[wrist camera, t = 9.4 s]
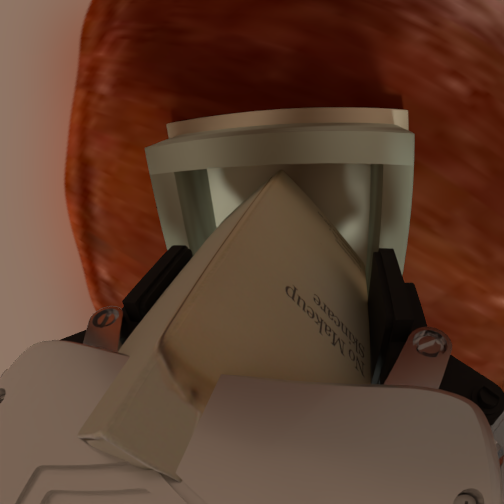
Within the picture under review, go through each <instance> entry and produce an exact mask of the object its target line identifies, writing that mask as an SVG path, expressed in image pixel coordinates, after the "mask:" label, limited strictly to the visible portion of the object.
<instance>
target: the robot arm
mask: <svg viewBox="0 0 504 504" xmlns="http://www.w3.org/2000/svg"><path fill="white" fill-rule="evenodd" d="M192 257H193V255H192V251H191V249H188V247H187V246H186V245H173V246H171V247H170V248H169V249H168V251H167V252H166V253H165V254H164V255H163V256H162V257H161V258H160V259H159V260H158V261H157V263H156V264H155V265H154V266H153V267H152V268H151V269H150V270H149V271H148V273H147V274H146V275H145V276H144V277H143V278H142V279H141V280H140V281H139V283H138V284H137V285H136V286H135V287H134V288H133V289H132V291H131V292H130V293H129V294H128V295H127V296H126V297H125V299H124V300H123V301H122V302H123V304H124V307H123V308H122V310H121V308H119V307H116V306H108V307H105V308H102V309H100V310H98V311H97V312H95V313H94V314H93V315H92V316H91V318H90V320H89V323H88V326H87V330H85V331H82V332H79V333H77V334H74V335H72V336H69V337H66V338H64V339H61V340H52V341H44V342H40V343H36V344H34V345H32V346H30V347H29V348H28V349H27V350H26V351H25V352H23V354H21V355H20V356H19V357H18V359H17V360H16V361H15V362H14V363H13V364H12V365H11V366H10V367H9V368H8V369H7V370H6V371H4V373H3V374H2V376H1V377H0V504H504V393H503V391H502V389H501V388H500V387H499V386H498V385H496V384H495V383H493V382H492V381H490V380H489V379H487V378H486V377H484V376H483V375H481V374H480V373H478V372H476V371H475V370H473V369H472V368H470V367H469V366H467V365H466V364H464V363H462V362H461V361H459V360H458V359H456V358H455V357H453V356H452V355H450V354H451V350H452V343H451V340H450V338H449V337H448V336H447V335H446V334H445V333H444V332H443V331H441V330H439V329H437V328H433V327H427V324H426V320H425V317H424V314H423V310H422V307H421V304H420V300H419V297H418V294H417V291H416V288H415V285H414V283H404V280H403V277H402V274H401V270H400V267H399V264H398V261H397V258H396V255H395V252H394V249H393V248H379V250H378V252H373V259H372V269H371V278H370V287H369V295H368V302H367V303H368V315H369V333H370V364H371V384H344V383H324V382H307V381H294V380H282V379H272V378H262V377H254V376H241V375H225V374H221V376H220V378H219V380H218V382H217V384H216V386H215V388H214V390H213V392H212V394H211V397H210V399H209V401H208V403H207V405H206V407H205V410H204V412H203V414H202V416H201V418H200V421H199V423H198V425H197V427H196V429H195V431H194V433H193V436H192V438H191V440H190V442H189V444H188V447H187V449H186V451H185V453H184V455H183V458H182V460H181V462H180V464H179V466H178V468H177V471H176V474H177V475H178V476H179V477H180V478H181V479H182V480H183V481H182V482H181V483H180V482H178V481H177V480H175V479H173V478H171V477H169V476H167V475H165V474H160V473H158V472H157V471H155V470H147V469H143V468H140V467H137V466H133V465H131V464H130V463H129V462H128V461H125V460H123V459H120V458H118V457H115V456H113V455H111V454H108V453H106V452H104V451H101V450H99V449H97V448H95V447H93V446H91V445H89V443H88V442H87V441H86V440H84V439H81V438H78V437H77V435H78V433H79V431H80V429H81V428H82V426H83V425H84V423H85V422H86V420H87V419H88V418H89V416H90V415H91V413H92V412H93V410H94V409H95V407H96V406H97V404H98V403H99V401H100V400H101V398H102V397H103V395H104V394H105V393H106V391H107V390H108V388H109V387H110V385H111V384H112V382H113V381H114V379H115V378H116V377H117V375H118V374H119V372H120V371H121V369H122V368H123V366H124V365H125V364H126V362H127V361H128V359H129V358H130V356H129V355H127V354H123V353H119V352H118V351H119V349H120V348H121V346H122V345H123V344H124V342H125V341H126V340H127V338H128V337H129V336H130V335H131V333H132V332H133V331H134V329H135V328H136V327H137V326H138V324H139V323H140V322H141V320H142V319H143V318H144V317H145V315H146V314H147V313H148V312H149V310H150V309H151V308H152V306H153V305H154V304H155V303H156V301H157V300H158V299H159V298H160V296H161V295H162V294H163V292H164V291H165V290H166V289H167V287H168V286H169V285H170V284H171V283H172V281H173V280H174V279H175V278H176V276H177V275H178V274H179V273H180V272H181V270H182V269H183V268H184V267H185V266H186V264H187V263H188V262H189V261H190V260H191V258H192Z"/></svg>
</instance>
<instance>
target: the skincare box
mask: <svg viewBox="0 0 504 504" xmlns="http://www.w3.org/2000/svg"><path fill="white" fill-rule="evenodd" d="M367 302H368V296H367V283H366V273H365V265H364V262H363V261H362V260H361V259H360V257H359V256H358V255H357V254H356V252H355V251H354V250H353V248H352V247H351V246H350V245H349V243H348V242H347V241H346V240H345V239H344V237H343V236H342V235H341V234H340V233H339V231H338V230H337V229H336V228H335V227H334V225H333V224H332V223H331V222H330V221H329V220H328V218H327V217H326V216H325V215H324V214H323V213H322V212H321V210H320V209H319V208H318V207H317V206H316V205H315V204H314V203H313V201H312V200H311V199H310V198H309V197H308V196H307V195H306V194H305V193H304V192H303V191H302V189H301V188H300V187H299V186H298V185H297V184H296V183H295V182H294V181H293V180H292V179H291V178H290V177H289V176H288V175H287V174H286V173H285V172H284V171H283V170H279V171H278V172H277V173H276V174H275V175H273V176H272V177H271V178H270V179H269V180H267V181H266V182H265V183H264V184H263V185H261V186H260V187H259V188H258V189H257V190H256V191H255V192H253V193H252V194H251V195H250V196H249V197H248V198H247V199H246V200H245V201H244V202H242V203H241V204H240V205H239V206H238V207H237V208H236V209H235V210H234V211H233V212H232V213H231V214H230V215H228V216H227V217H226V218H225V219H224V220H223V221H222V222H221V224H220V225H219V226H218V227H217V228H216V229H215V231H214V232H213V233H212V234H211V235H210V236H209V237H208V239H207V240H206V241H205V242H204V243H203V245H202V246H201V247H200V248H199V250H198V251H197V252H196V253H195V255H194V256H193V257H192V258H191V260H190V261H189V262H188V263H187V264H186V266H185V267H184V268H183V269H182V270H181V272H180V273H179V274H178V275H177V276H176V278H175V279H174V280H173V281H172V283H171V284H170V285H169V286H168V287H167V289H166V290H165V291H164V292H163V294H162V295H161V296H160V298H159V299H158V300H157V301H156V303H155V304H154V305H153V306H152V308H151V309H150V310H149V312H148V313H147V314H146V315H145V317H144V318H143V319H142V320H141V322H140V323H139V324H138V326H137V327H136V328H135V329H134V331H133V332H132V333H131V335H130V336H129V337H128V338H127V340H126V341H125V342H124V344H123V345H122V346H121V348H120V349H119V351H118V352H119V353H123V354H127V355H129V356H130V358H129V359H128V361H127V362H126V364H125V365H124V366H123V368H122V369H121V371H120V372H119V374H118V375H117V377H116V378H115V379H114V381H113V382H112V384H111V385H110V387H109V388H108V390H107V391H106V393H105V394H104V395H103V397H102V398H101V400H100V401H99V403H98V404H97V406H96V407H95V409H94V410H93V412H92V413H91V415H90V416H89V418H88V419H87V420H86V422H85V423H84V425H83V426H82V428H81V429H80V431H79V433H78V435H77V437H78V438H81V439H84V440H86V441H87V442H88V443H89V445H91V446H93V447H95V448H97V449H99V450H101V451H104V452H106V453H108V454H111V455H113V456H115V457H118V458H120V459H123V460H125V461H128V462H129V463H130V464H131V465H133V466H137V467H140V468H143V469H147V470H155V471H157V472H158V473H160V474H165V475H167V476H169V477H171V478H173V479H175V480H177V481H178V482H180V483H181V482H182V481H183V480H182V479H181V478H180V477H179V476H178V475H177V474H176V471H177V468H178V466H179V464H180V462H181V460H182V458H183V455H184V453H185V451H186V449H187V447H188V444H189V442H190V440H191V438H192V436H193V433H194V431H195V429H196V427H197V425H198V423H199V421H200V418H201V416H202V414H203V412H204V410H205V407H206V405H207V403H208V401H209V399H210V397H211V394H212V392H213V390H214V388H215V386H216V384H217V382H218V380H219V378H220V376H221V374H225V375H241V376H254V377H262V378H272V379H282V380H294V381H307V382H324V383H344V384H371V364H370V333H369V315H368V303H367Z"/></svg>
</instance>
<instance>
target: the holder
mask: <svg viewBox="0 0 504 504" xmlns="http://www.w3.org/2000/svg"><path fill="white" fill-rule="evenodd" d="M167 130H168V136H169V139H167V140H164V141H162V142H159V143H157V144H154V145H151V146H149V147H146V148H145V152H146V158H147V163H148V168H149V173H150V178H151V182H152V187H153V192H154V196H155V201H156V205H157V209H158V214H159V218H160V222H161V226H162V230H163V234H164V238H165V242H166V246H167V250H168V249H169V248H170V247H171V246H173V245H186V246H187V247H188V249H191V251H192V255H193V256H194V255H195V253H196V252H197V251H198V250H199V248H200V247H201V246H202V245H203V243H204V242H205V241H206V240H207V239H208V237H209V236H210V235H211V234H212V233H213V232H214V231H215V229H216V228H217V227H218V226H219V225H220V224H221V222H222V221H223V220H224V219H225V218H226V217H227V216H228V215H230V214H231V213H232V212H233V211H234V210H235V209H236V208H237V207H238V206H239V205H240V204H241V203H242V202H244V201H245V200H246V199H247V198H248V197H249V196H250V195H251V194H252V193H253V192H255V191H256V190H257V189H258V188H259V187H260V186H261V185H263V184H264V183H265V182H266V181H267V180H269V179H270V178H271V177H272V176H273V175H275V174H276V173H277V172H278V171H279V170H283V171H284V172H285V173H286V174H287V175H288V176H289V177H290V178H291V179H292V180H293V181H294V182H295V183H296V184H297V185H298V186H299V187H300V188H301V189H302V191H303V192H304V193H305V194H306V195H307V196H308V197H309V198H310V199H311V200H312V201H313V203H314V204H315V205H316V206H317V207H318V208H319V209H320V210H321V212H322V213H323V214H324V215H325V216H326V217H327V218H328V220H329V221H330V222H331V223H332V224H333V225H334V227H335V228H336V229H337V230H338V231H339V233H340V234H341V235H342V236H343V237H344V239H345V240H346V241H347V242H348V243H349V245H350V246H351V247H352V248H353V250H354V251H355V252H356V254H357V255H358V256H359V257H360V259H361V260H362V261H363V262H364V265H365V273H366V283H367V296H368V295H369V287H370V278H371V269H372V259H373V252H378V250H379V248H393V249H394V252H395V255H396V258H397V261H398V264H399V267H400V270H401V274H403V268H404V262H405V255H406V248H407V240H408V232H409V224H410V214H411V203H412V190H413V172H414V133H412V132H410V131H408V110H403V109H388V108H363V107H316V108H291V109H275V110H262V111H251V112H241V113H232V114H224V115H216V116H209V117H202V118H196V119H189V120H183V121H178V122H172V123H169V124H167Z"/></svg>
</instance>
